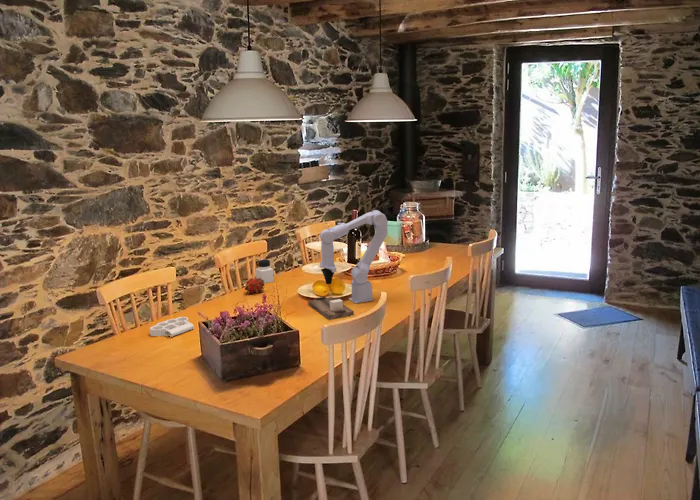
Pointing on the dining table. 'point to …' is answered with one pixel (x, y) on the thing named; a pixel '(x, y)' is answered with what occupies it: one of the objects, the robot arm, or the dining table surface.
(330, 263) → the robot arm
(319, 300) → the slotted base plate
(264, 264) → the medicine bottle
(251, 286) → the dragon fruit
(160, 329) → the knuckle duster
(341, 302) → the fader tab
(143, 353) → the dining table surface
